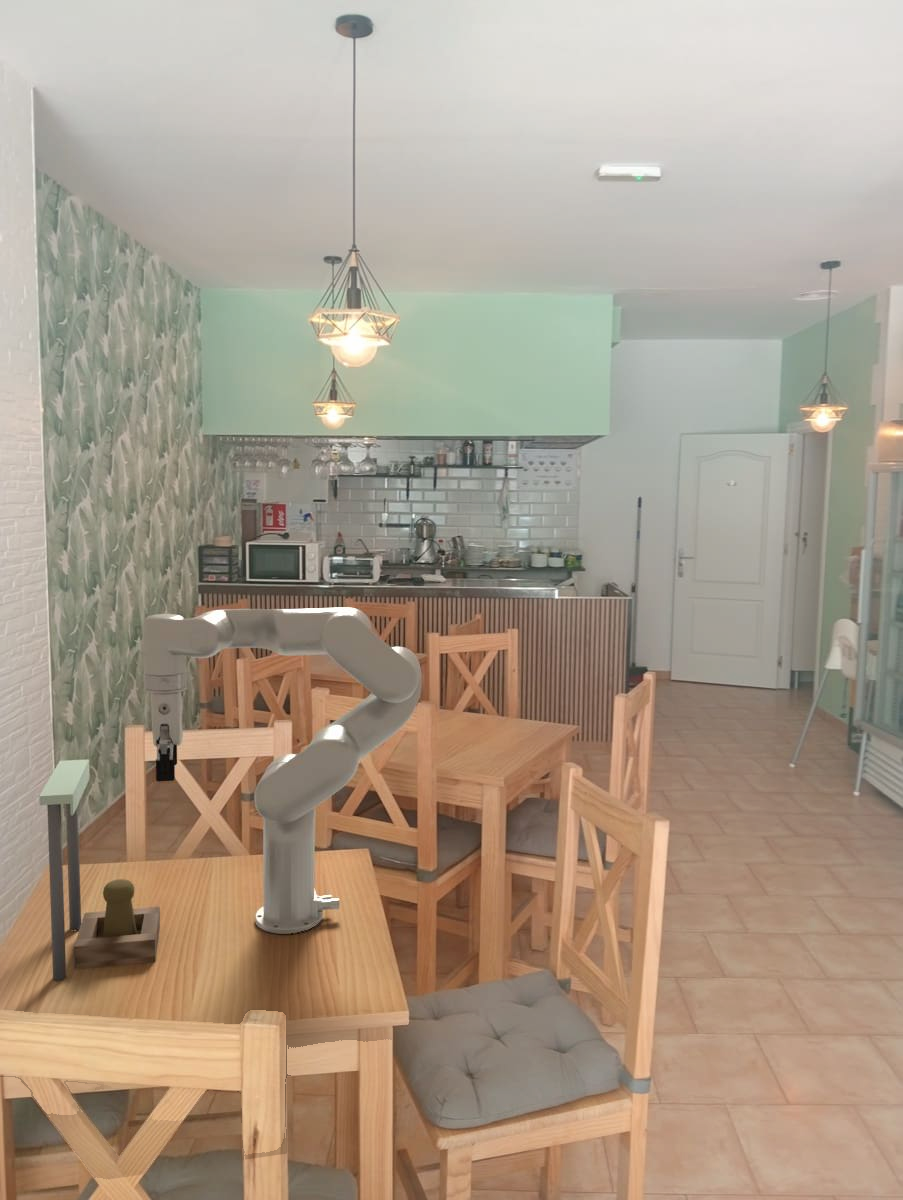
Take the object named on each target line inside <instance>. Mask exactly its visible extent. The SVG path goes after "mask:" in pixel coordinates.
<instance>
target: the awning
mask: <svg viewBox="0 0 903 1200" xmlns="http://www.w3.org/2000/svg"><path fill="white" fill-rule="evenodd" d="M90 771H91V770H90V759H73V760H72V759H69V760H67V759H66V760H59V761H58V763H57V765H56V766H55V769H54V770H53V771H52V774H51V775H50V777H49V779H48V781H46V784H45V785H44V787H43V789H42V791H41V792H40V794H39V806H47V828H48V829H47V831H48V832H47V833H48V835H47V836H48V861H49V862H48V864H49V867H48V868H49V895H50V898H49V899H50V923H51V924H50V926H51V928H50V929H51V930H50V931H51V954H52V956H51V958H52V980H53V981H55V982H61V981H64V980H65V979H66V978H67V969H66V968H67V967H66V966H67V964H66V963H67V962H66V961H67V960H66V934H65V933H66V930H65V929H66V927H65V903H64V902H65V899H64V898H65V897H64V862H63V834H62V833H63V831H62V830H63V829H62V828H63V827H62V805H65V813H66V814H65V815H66V817H65V818H66V819H65V820H66V821H65V822H66V846H67V847H66V849H67V854H66V855H67V856H66V857H67V878H68V879H67V883H68V885H67V886H68V917H69V919H68V921H69V931H70V930H73V931H72V932H75V931H74V930H78V931H79V929H80V926H81V923H82V904H81V902H82V901H81V872H80V871H81V865H80V863H81V862H80V861H81V860H80V832H79V831H80V830H79V829H80V828H79V826H80V825H79V803H80V801H81V798H82V796H83V795H84V792H85V789H86V788H87V785H88V783H89V781H90V776H91V775H90Z"/></svg>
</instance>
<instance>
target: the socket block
mask: <svg viewBox="0 0 903 1200" xmlns="http://www.w3.org/2000/svg"><path fill="white" fill-rule="evenodd" d="M160 909H161V908H160V906H154V907H153V906H151V907H141V908H140V907H139V908H133V912H134V918H135V924H136V930H137V934H136V935H125V936H114V937H103V930H104V922H105V913H106V910H104V911H103V910H102V911H92V912H91V911H90V912H84V913H83V917H82V919H81V926H80V929H79V930H78V933H77V936H76V938H75V939H76V940H75V942H74V945H73V956H74V957H73V959H74V970H81V969H91V968H102V967H103V968H104V967H113V966H124V965H134V964H142V963H143V964H145V963H154V962H157V961H156V959H157V952H158V946H159V938H160V932H161V931H160V929H161V913H160V912H161V910H160Z"/></svg>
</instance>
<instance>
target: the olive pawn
mask: <svg viewBox="0 0 903 1200" xmlns="http://www.w3.org/2000/svg"><path fill="white" fill-rule="evenodd" d="M134 894H135V885H134V883H132V881H131V880H128V879H125V878H124V879H123V878H121V879H120V878H118V879H113V880H112V881H109V882H107V883H106V884H105V885H104V887H103V891H102V897H103V899H104V901H105V902H106V905H105V911H106V913H105V922H104V930H103V937H114V936H125V935H136V934H137V930H136V924H135V918H134V912H133V909H134V908H133V907H134V906H133V901H132V899H133V898H134Z"/></svg>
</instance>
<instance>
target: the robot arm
mask: <svg viewBox="0 0 903 1200" xmlns="http://www.w3.org/2000/svg"><path fill="white" fill-rule="evenodd" d="M142 637H143V638H142V650H143V652H142V653H143V691H144V692H145V693H148V694H150V700H151V701H150V707H151V709H150V710H151V713H150V714H151V730H152V741H153V742H152V743H153V747H156V759H155V781H156V782H159V783H160V782H174V781H175V778H176V774H175V772H176V770H175V766H176V765H177V764H178V747H180V746H181V745H182V742H183V738H184V737H183V735H184V733H183V732H184V729H183V698H182V692H184V691H186V690H187V689H188V683H187V681H188V680H187V679H188V677H187V675H188V671H187V667H188V665H187V657H189V658H196V659H207V658H211V657H214V656H215V655H217V654H218V653H219V652H220V651H223V649H224V650H225V649H243V648H245V649H246V648H247V649H248V648H250V649H252V648H254V649H256V648H257V649H264V650H269V651H271V652H273V653H275V654H277V655H280V656H287V657H289V656H290V657H292V656H313V655H327V656H329V657H330V658H331V660H333V662H335V663H336V664H337V665H338V666H339V667H340V668H341V669H342V670H343V671H345V672H346V673H347V674H348V675H350V676H351V677H352V678H353V679H354V680H356V682H358V683H359V684H360V685H361V686H363V687H364V688H366V690H367V691H369V692H370V694H369V695H368V696H367V697H365V698H364V699H363V700H362V701H360V702H359V703H358V704H357V705H356V706H354V707H352V709H350V710H349V711H347V712H346V713H345V714H343V715H342V716H340V717H338V718H337V719H336V720H334V721H333V722H331V723H329V724H327V725H326V726H325V727H323V728H322V729H320V730H318V732H316V734H315V735H314V736H313V738H312V740H311V741H310V743H309V745H308V746H306V747H304V749H302V750H301V751H300V752H298V753H285V754H282V755H280V756H278V757H276V758H275V759H274V760H272V761H271V763H270V764H268V766H267V768H266V769H265V771H264V773H263V774H262V776H261V779H260V780H259V781H258V783H257V786H256V788H255V790H254V796H253V797H254V806H255V809H256V811H257V813H258V814H259V815H260V817H261V818H262V819H263V830H262V832H263V836H262V839H263V845H262V847H263V849H262V850H263V851H262V854H263V855H262V857H263V861H262V862H263V863H262V864H263V867H262V868H263V869H262V870H263V873H262V874H263V875H262V876H263V881H262V882H263V883H262V884H263V891H262V892H263V906H262V907H260V908H259V909H258V910H257V911H256V913H255V916H254V920H255V921H254V922H255V924H256V926H257V927H258V928H259V929H261V930H262V931H265V932H268V933H272V934H276V935H277V934H279V935H287V934H288V935H292V934H291V933H293V934H298V933H297V932H299V933H301V932H300V931H304V930H307V931H309V930H308V929H310V928H312V927H314V926H315V927H317V926H318V925H319V924H320V923H321V922H322V921H323V919H322V918H323V916H324V915H323V914H324V912H323V911H325V910H330V911H332V910H340V899H339V898H332V894H327V895H326V894H325V895H319V894H317V892H316V888H315V877H316V876H315V870H316V869H315V862H316V861H315V858H316V857H315V853H316V852H315V851H316V850H315V849H316V848H315V846H316V845H315V844H316V842H315V841H316V808H317V806H319V805H320V804H321V803H323V802H325V801H326V800H328V799H329V798H330V797H332V796H333V795H334V794H337V792H339V791H340V790H342V789H343V788H344V787H345V786H346V785H347V784H348V783H349V782H350V781H351V780H352V779H353V778H354V776H355V775H356V772H357V770H358V767H359V764H360V762H361V761H362V760H363V759H364V758H366V757H367V756H368V755H369V754H370V753H372V752H373V751H375V750H376V749H377V748H379V747H380V746H381V745H382V744H384V743H385V742H386V741H387V740H389V739H390V738H392V737H393V736H395V734H396V733H398V732H399V731H400V730H401V729H402V728H403V727H404V726H405V725H406V724H407V722H408V721H409V720H410V718H411V716H412V715H413V713H414V711H415V710H416V708H417V705H418V702H419V699H420V697H421V691H422V684H423V683H422V669H421V664H420V662H419V658H418V657H417V655H416V654H415V653H414V652H413V651H412V650H411V649H409V648H407V647H403V646H390V645H389V644H388V643H387V642H386V641H384V640H383V639H382V638H381V637H379V636H378V635H377V634H376V632H374V631H373V630H372V625H371V622H370V619H369V617H368V615H367V614H365V613H364V612H363V611H362V610H360V609H358V608H355V607H344V606H343V607H322V608H320V607H319V608H317V607H316V608H313V607H312V608H271V609H270V608H269V609H267V608H266V609H265V608H238V609H237V608H236V609H235V608H233V609H231V608H230V609H213V610H209V611H206V612H204V613H201V614H200V615H197V616H195V617H191V618H184V617H183V616H182V615H180V614H175V613H159V614H151V615H148V616H146V617H145V618H144V619H143V622H142ZM321 920H322V921H321ZM320 921H321V922H320ZM319 922H320V923H319ZM318 923H319V924H318ZM317 924H318V925H317ZM316 925H317V926H316ZM315 927H314V928H315ZM312 929H313V928H312ZM310 930H311V929H310ZM304 932H305V931H304Z"/></svg>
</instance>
